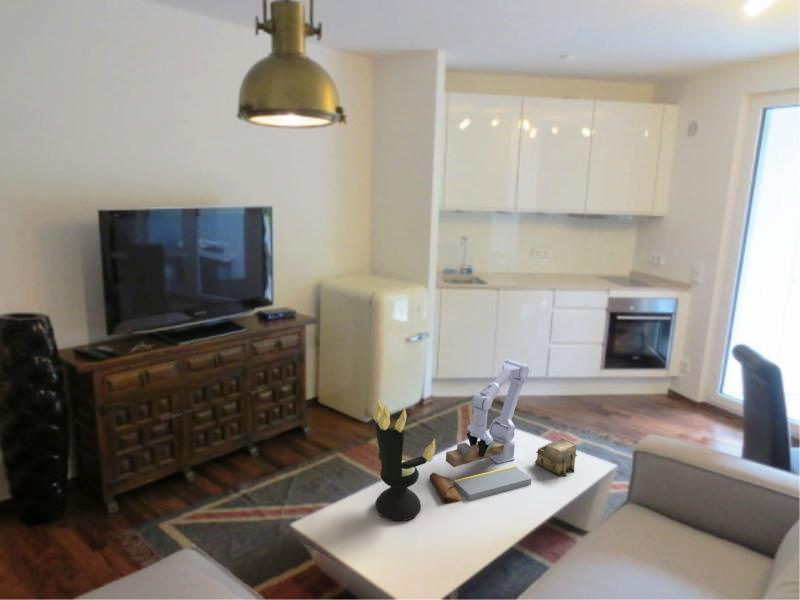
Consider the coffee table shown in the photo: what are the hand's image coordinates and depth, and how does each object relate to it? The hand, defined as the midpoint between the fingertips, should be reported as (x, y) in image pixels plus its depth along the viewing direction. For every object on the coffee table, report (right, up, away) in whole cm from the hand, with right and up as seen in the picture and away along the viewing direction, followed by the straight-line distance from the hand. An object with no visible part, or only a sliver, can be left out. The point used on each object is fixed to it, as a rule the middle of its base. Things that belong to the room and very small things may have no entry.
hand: (477, 452), depth 231 cm
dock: (+5, -11, -8) cm, 14 cm away
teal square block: (+4, +3, +2) cm, 5 cm away
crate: (-6, +2, -4) cm, 7 cm away
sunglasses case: (-14, -12, -13) cm, 23 cm away
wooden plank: (-1, -2, 0) cm, 2 cm away
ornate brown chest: (+35, -8, +9) cm, 38 cm away
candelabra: (-34, -14, -29) cm, 47 cm away
